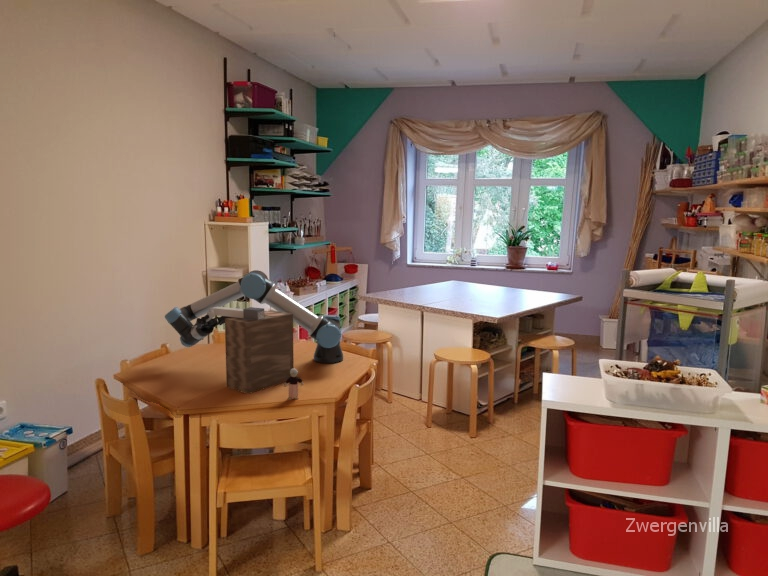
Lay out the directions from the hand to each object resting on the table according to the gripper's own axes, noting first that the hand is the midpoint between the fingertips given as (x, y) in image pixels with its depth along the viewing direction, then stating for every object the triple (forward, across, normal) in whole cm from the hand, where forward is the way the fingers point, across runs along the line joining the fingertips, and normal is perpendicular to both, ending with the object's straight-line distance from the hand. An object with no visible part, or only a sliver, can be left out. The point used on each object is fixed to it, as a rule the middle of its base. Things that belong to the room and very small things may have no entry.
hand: (226, 310), depth 245 cm
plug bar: (+6, +1, -5) cm, 8 cm away
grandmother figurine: (+19, -2, -48) cm, 51 cm away
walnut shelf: (-4, -6, -34) cm, 35 cm away
